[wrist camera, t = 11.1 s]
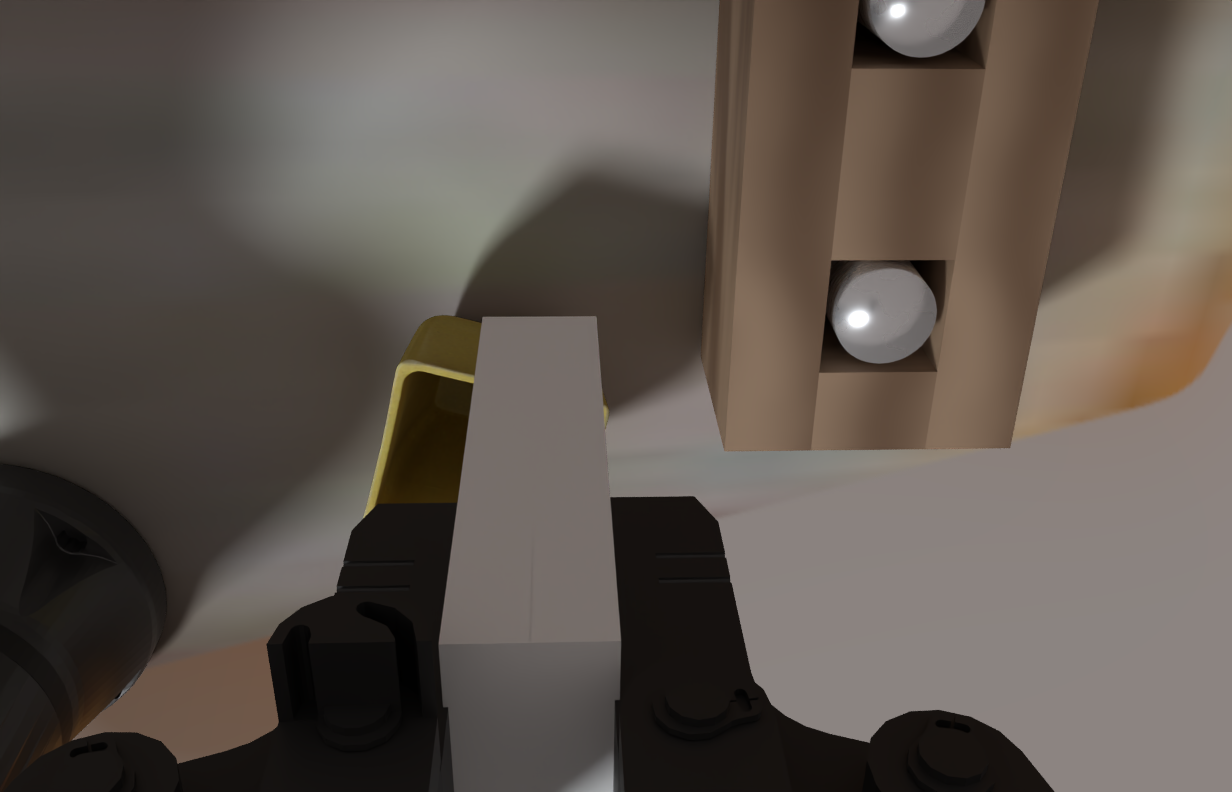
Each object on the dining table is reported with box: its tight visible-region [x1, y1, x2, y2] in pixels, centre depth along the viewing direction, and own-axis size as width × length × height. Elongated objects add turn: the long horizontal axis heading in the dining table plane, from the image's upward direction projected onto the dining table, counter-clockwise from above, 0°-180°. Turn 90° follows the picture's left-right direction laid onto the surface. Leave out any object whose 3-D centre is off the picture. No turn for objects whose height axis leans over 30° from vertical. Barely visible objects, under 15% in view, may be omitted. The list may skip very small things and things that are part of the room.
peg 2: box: [826, 260, 937, 364], centre depth 50 cm, size 4×4×9 cm
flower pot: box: [363, 315, 609, 518], centre depth 52 cm, size 9×9×9 cm
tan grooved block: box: [701, 0, 1099, 451], centre depth 47 cm, size 12×24×9 cm, turn 179°
